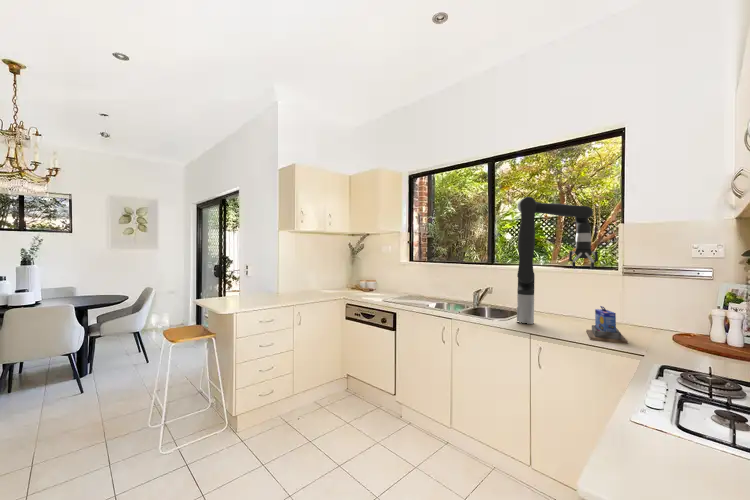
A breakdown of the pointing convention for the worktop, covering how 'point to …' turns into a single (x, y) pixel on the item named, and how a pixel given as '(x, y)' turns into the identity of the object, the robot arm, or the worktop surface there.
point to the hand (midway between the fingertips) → (583, 268)
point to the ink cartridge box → (605, 320)
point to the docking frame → (606, 336)
